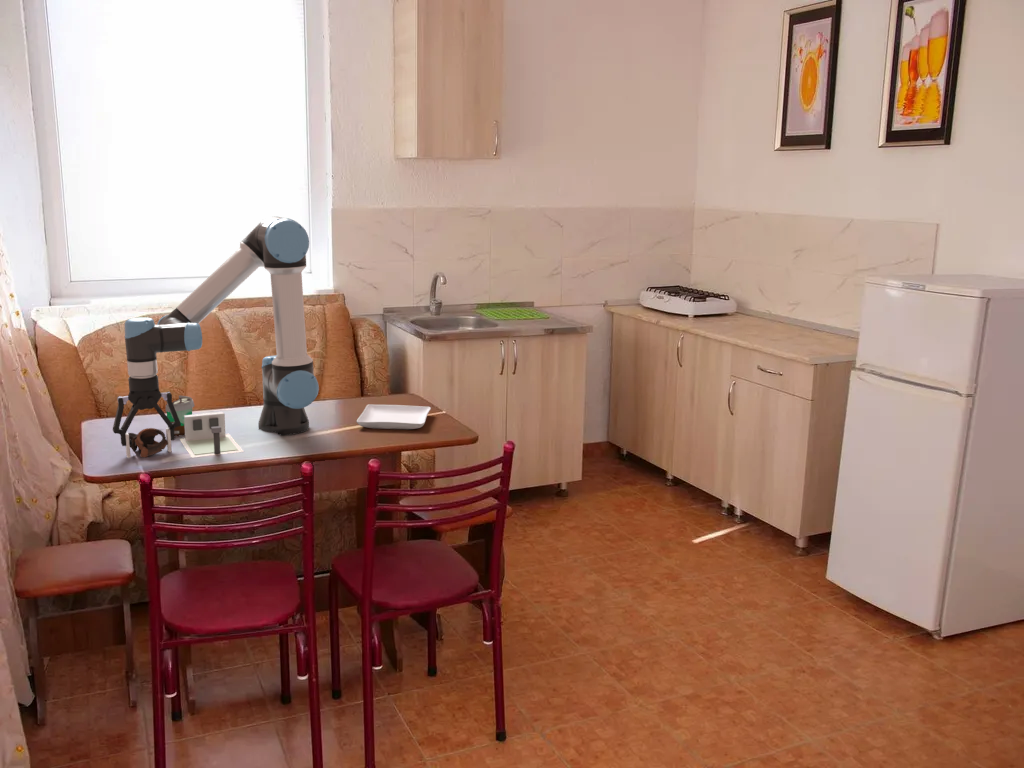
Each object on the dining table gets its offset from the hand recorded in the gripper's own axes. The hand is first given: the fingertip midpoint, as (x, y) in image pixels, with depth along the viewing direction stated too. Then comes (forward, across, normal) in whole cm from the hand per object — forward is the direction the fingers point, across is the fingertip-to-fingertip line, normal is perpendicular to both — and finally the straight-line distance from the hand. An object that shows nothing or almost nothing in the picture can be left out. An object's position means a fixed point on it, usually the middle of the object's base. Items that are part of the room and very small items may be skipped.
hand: (149, 454), depth 257 cm
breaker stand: (+1, -17, -1) cm, 17 cm away
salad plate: (+2, -75, -7) cm, 75 cm away
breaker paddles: (-3, -17, -8) cm, 19 cm away
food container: (+1, -13, -21) cm, 25 cm away
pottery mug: (+1, 0, -1) cm, 1 cm away
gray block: (0, -17, +8) cm, 19 cm away
